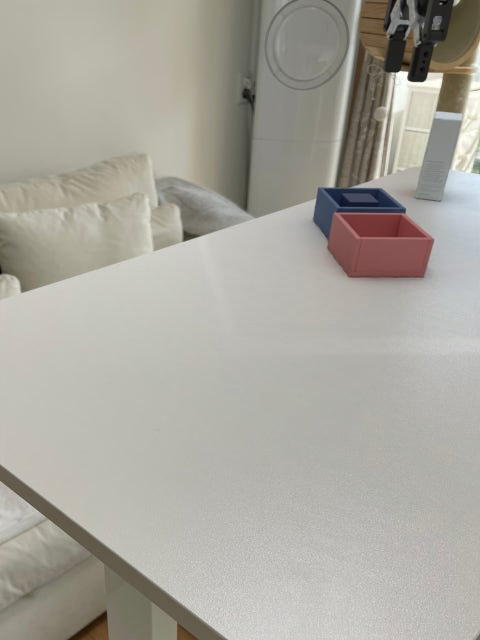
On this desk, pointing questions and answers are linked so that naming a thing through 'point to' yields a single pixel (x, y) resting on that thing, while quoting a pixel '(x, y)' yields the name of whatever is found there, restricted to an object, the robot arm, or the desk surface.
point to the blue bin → (330, 204)
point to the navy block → (358, 200)
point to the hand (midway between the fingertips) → (403, 76)
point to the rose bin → (379, 245)
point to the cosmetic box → (438, 155)
